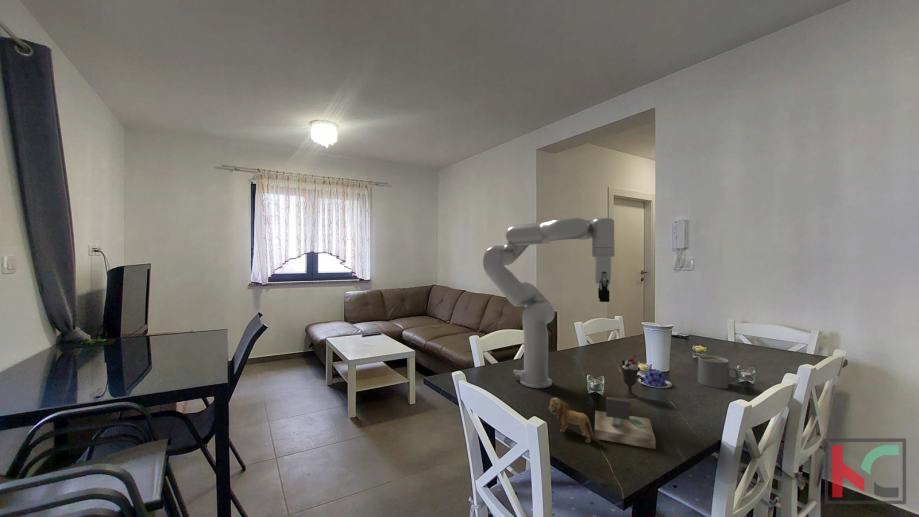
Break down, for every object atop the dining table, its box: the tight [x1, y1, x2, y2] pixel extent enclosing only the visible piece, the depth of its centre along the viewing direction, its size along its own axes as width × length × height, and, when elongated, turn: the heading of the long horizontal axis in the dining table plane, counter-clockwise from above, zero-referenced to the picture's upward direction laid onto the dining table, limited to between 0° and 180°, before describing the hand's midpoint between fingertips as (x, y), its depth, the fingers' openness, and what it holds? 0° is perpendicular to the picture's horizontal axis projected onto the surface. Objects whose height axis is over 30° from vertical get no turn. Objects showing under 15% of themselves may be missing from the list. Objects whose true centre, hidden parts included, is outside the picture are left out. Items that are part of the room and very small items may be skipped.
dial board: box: [594, 410, 656, 450], centre depth 104 cm, size 15×13×3 cm
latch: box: [605, 395, 630, 426], centre depth 106 cm, size 8×6×7 cm
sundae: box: [619, 354, 641, 399], centre depth 131 cm, size 7×7×15 cm
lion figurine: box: [548, 397, 600, 444], centre depth 103 cm, size 15×5×9 cm, turn 50°
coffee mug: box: [697, 354, 741, 389], centre depth 141 cm, size 13×10×10 cm
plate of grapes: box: [637, 368, 673, 389], centre depth 143 cm, size 12×12×5 cm
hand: (603, 300), depth 130 cm, fingers open, 9 cm apart
